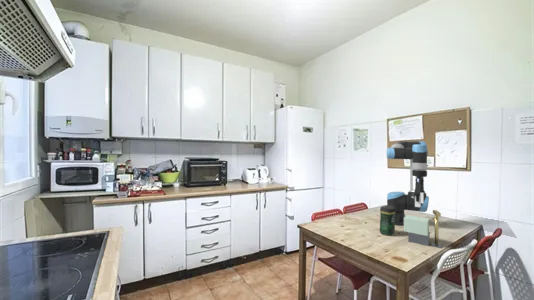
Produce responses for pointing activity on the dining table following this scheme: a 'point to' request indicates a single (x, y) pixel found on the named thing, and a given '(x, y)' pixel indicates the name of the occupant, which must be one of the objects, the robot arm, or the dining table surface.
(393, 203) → the robot arm
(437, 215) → the t key
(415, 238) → the block
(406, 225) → the mint green block
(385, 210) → the coffee jar
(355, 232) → the dining table surface
